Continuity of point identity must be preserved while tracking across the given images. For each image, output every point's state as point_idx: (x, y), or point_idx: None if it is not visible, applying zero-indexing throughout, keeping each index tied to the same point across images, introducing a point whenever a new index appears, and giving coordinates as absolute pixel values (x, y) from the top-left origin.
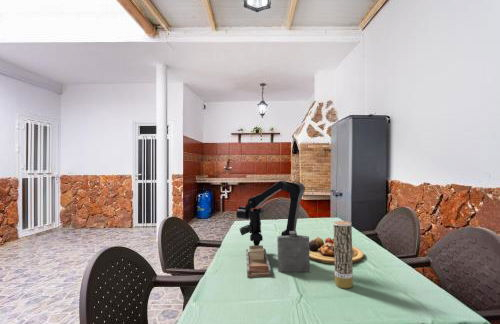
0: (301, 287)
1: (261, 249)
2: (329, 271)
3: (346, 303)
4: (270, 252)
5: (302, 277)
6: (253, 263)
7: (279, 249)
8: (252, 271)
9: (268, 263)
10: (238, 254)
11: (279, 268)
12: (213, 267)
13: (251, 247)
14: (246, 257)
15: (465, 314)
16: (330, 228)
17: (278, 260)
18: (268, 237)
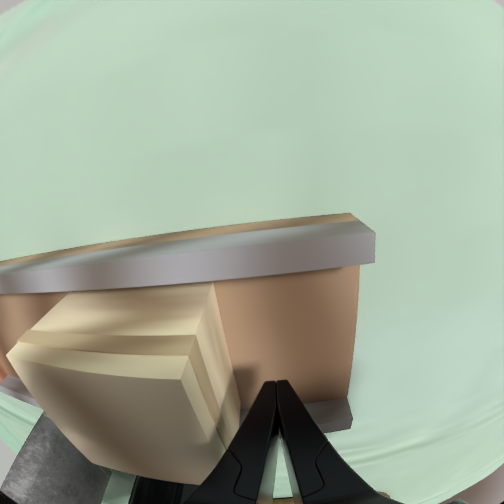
0: (5, 414)
1: (83, 452)
2: (130, 495)
3: (11, 441)
4: (360, 415)
5: None
6: (28, 317)
7: (4, 483)
8: None
9: (28, 401)
10: (342, 105)
11: (38, 419)
12: (8, 18)
13: (94, 395)
14: (94, 255)
15: None
16: (501, 460)
17: (24, 443)
18: None
